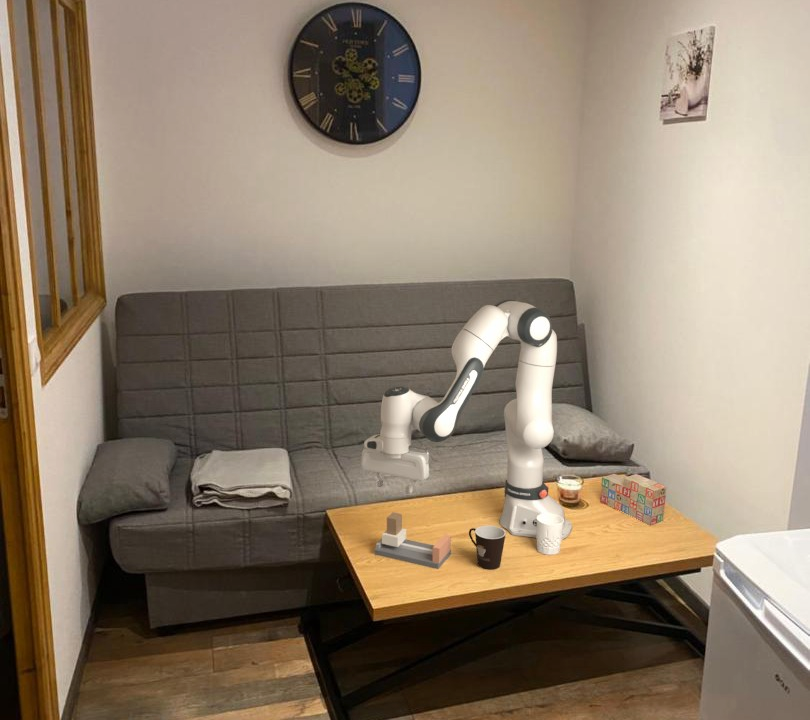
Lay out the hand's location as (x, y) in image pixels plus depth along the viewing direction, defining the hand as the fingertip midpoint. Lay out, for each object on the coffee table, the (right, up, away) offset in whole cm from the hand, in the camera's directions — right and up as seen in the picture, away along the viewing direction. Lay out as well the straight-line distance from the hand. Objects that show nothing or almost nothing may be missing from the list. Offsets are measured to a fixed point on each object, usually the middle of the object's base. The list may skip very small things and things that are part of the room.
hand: (394, 489), depth 235 cm
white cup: (+45, -19, +6) cm, 50 cm away
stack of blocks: (+77, -13, +34) cm, 86 cm away
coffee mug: (+27, -21, -1) cm, 34 cm away
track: (+5, -19, +2) cm, 20 cm away
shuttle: (0, -16, +4) cm, 16 cm away
